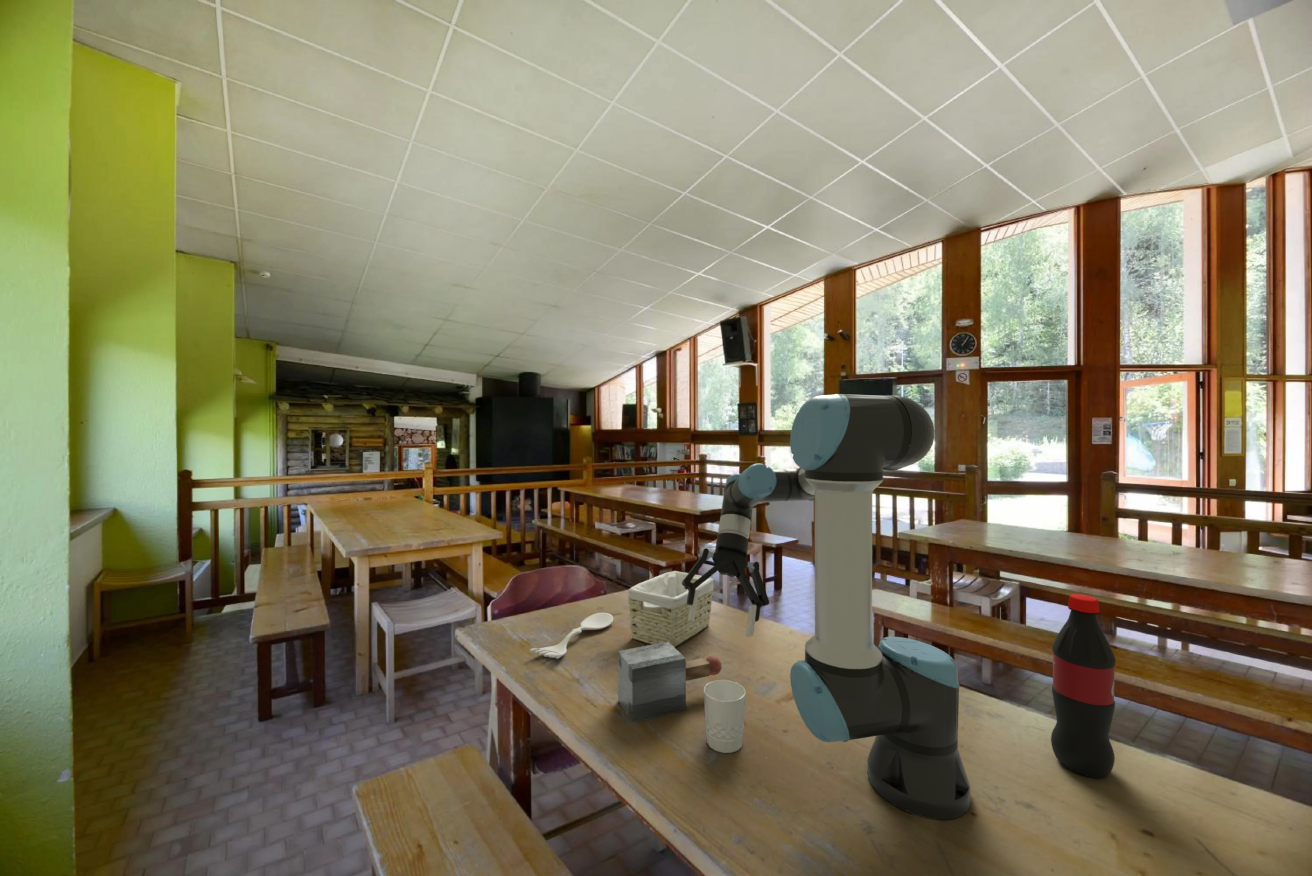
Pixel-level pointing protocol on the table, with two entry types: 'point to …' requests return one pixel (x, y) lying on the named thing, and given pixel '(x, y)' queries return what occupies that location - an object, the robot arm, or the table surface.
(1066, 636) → the cola bottle
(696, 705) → the table surface
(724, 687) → the white cup
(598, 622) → the white plastic spork
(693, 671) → the plunger
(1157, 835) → the table surface
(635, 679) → the block
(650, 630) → the storage basket
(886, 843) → the table surface
